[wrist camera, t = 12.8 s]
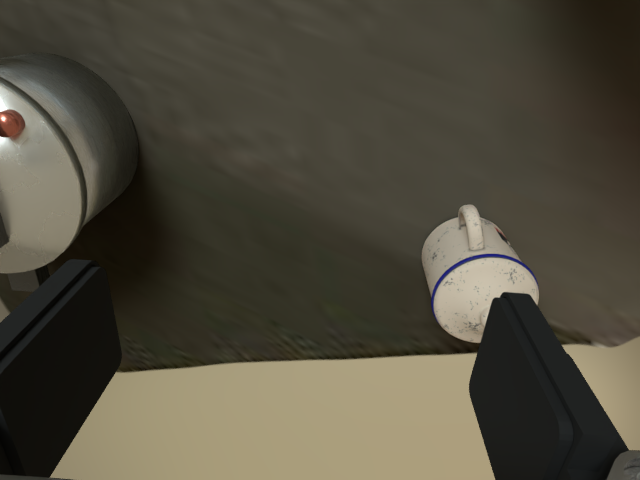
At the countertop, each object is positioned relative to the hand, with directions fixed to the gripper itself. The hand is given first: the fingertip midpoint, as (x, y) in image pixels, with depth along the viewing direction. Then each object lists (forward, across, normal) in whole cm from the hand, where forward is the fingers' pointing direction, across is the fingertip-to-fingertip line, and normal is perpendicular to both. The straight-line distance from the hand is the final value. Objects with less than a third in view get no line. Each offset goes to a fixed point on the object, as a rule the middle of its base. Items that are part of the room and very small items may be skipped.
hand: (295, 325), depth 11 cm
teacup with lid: (+34, -14, +14) cm, 39 cm away
